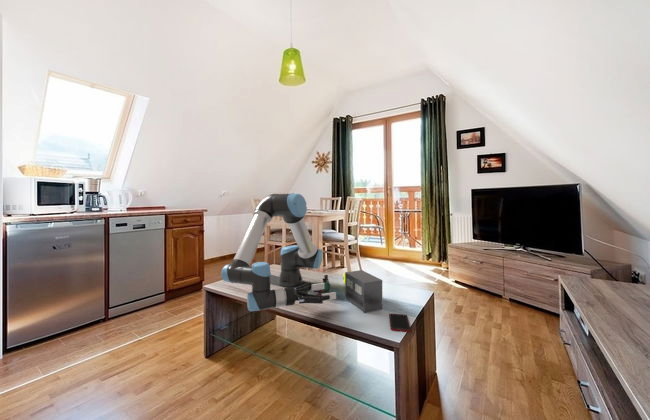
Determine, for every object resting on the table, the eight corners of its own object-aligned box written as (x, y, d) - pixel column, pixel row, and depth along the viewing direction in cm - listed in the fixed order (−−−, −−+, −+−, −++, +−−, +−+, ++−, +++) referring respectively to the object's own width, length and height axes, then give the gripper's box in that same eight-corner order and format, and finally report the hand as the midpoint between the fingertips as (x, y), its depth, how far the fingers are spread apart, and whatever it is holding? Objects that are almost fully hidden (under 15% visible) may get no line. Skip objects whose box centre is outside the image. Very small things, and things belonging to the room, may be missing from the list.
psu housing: (344, 298, 137) (344, 272, 137) (361, 295, 141) (361, 270, 141) (363, 312, 120) (363, 282, 119) (382, 309, 124) (382, 280, 123)
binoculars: (313, 274, 147) (330, 274, 145) (315, 293, 147) (332, 292, 145) (309, 279, 138) (328, 278, 136) (311, 299, 138) (330, 298, 137)
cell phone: (390, 331, 104) (391, 329, 104) (389, 315, 118) (389, 313, 118) (411, 333, 102) (411, 331, 102) (406, 316, 117) (406, 314, 117)
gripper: (278, 295, 124) (319, 289, 132) (291, 317, 101) (341, 308, 109) (278, 280, 124) (319, 275, 132) (291, 298, 101) (341, 291, 109)
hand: (329, 290), depth 121 cm, fingers open, 13 cm apart
